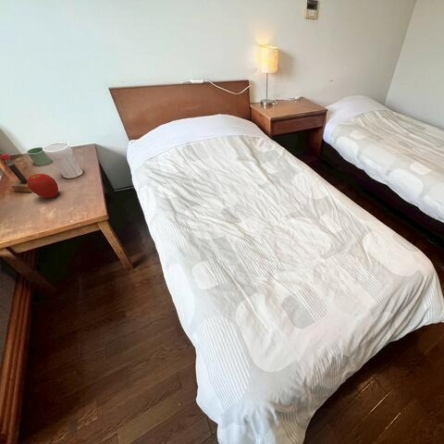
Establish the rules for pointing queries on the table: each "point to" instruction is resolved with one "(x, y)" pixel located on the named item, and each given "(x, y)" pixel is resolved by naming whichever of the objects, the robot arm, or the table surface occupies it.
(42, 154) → the dessert cup
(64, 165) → the cup
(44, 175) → the red ovoid fruit
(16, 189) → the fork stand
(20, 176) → the strawberry fork
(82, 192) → the table surface
